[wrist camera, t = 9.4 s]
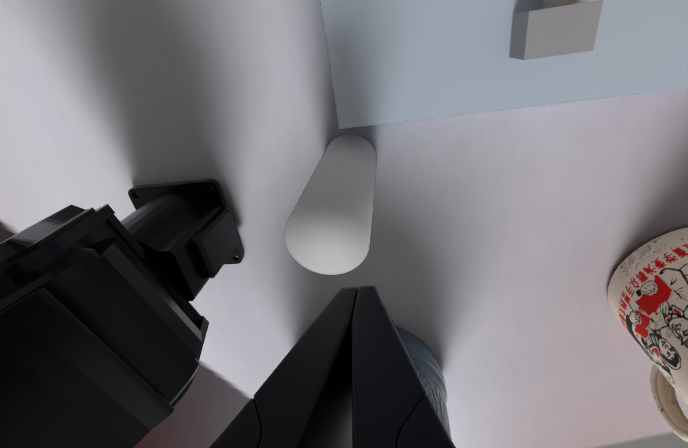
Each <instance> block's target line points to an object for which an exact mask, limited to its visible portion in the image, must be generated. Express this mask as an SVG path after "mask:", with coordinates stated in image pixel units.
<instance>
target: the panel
mask: <svg viewBox="0 0 688 448" xmlns="http://www.w3.org/2000/svg"><path fill="white" fill-rule="evenodd" d="M320 3H321V10H322V17H323V24H324V30H325V37H326V44H327V51H328V58H329V65H330V71H331V78H332V85H333V92H334V99H335V106H336V112H337V119H338V126H339V129H346V128H354V127H363V126H371V125H380V124H389V123H397V122H406V121H415V120H423V119H432V118H441V117H449V116H458V115H466V114H475V113H484V112H492V111H501V110H510V109H518V108H527V107H535V106H544V105H553V104H561V103H570V102H579V101H587V100H596V99H604V98H613V97H622V96H630V95H639V94H648V93H656V92H665V91H673V90H682V89H688V0H320Z"/></svg>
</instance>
